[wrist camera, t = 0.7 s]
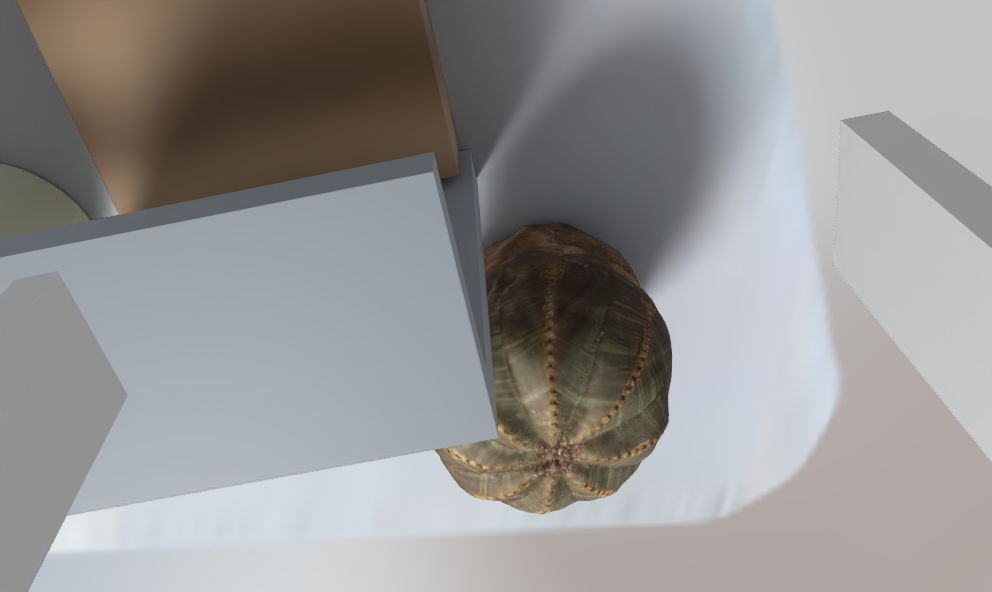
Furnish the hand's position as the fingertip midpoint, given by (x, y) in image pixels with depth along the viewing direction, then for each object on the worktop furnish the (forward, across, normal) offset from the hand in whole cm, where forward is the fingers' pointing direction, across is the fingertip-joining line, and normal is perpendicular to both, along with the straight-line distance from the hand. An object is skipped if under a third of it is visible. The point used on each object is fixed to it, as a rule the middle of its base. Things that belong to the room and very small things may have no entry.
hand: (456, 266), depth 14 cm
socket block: (+23, -8, +1) cm, 24 cm away
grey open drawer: (+23, -8, -5) cm, 25 cm away
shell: (+23, +1, -16) cm, 28 cm away
